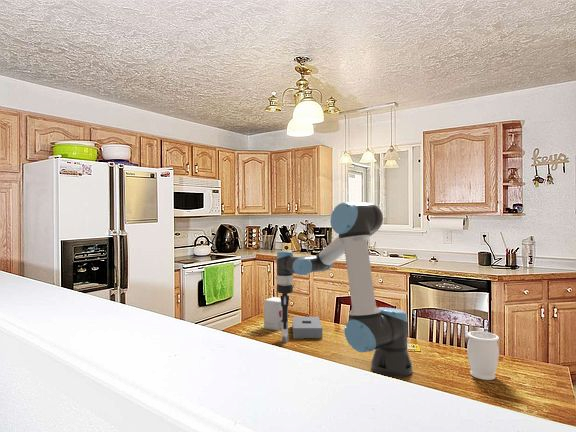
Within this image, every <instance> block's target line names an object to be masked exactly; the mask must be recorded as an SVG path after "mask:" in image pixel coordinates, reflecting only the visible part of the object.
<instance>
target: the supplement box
mask: <svg viewBox="0 0 576 432" xmlns="http://www.w3.org/2000/svg"><path fill="white" fill-rule="evenodd" d="M263 307H264V308H263V309H264V310H263V329H267V330H273V331H280V330H282V322H281V321H282V306H281V297H277V296H272V297H269V298H266V299H263Z"/></svg>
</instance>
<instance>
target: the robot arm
mask: <svg viewBox="0 0 576 432" xmlns="http://www.w3.org/2000/svg"><path fill="white" fill-rule="evenodd" d="M329 220H330V226H331V229H332V230H333V231H334V232H335V233H336V234H338V236H337V237H336V238H334V239H333V240H332V241H331V242H330V243H329V244H328V245H326V246H325V247H324V248H323V249H322V250H321V251H319V252H318V253H317V254H315V255H307V256H294V254H293V253H294V252H293V251H292V250H278V251H277V253H276V276H275V279H276V293H278V294H281V295H280V298H281V306H282V321H281V322H282V329H281V337H282V336H288V337H289V317H290V315H289V309H288V307H289V305H290V304H289V303H290V295H288V294H292V293H293V291H294V285H293V283H294V274H296V275H299V276H307V275H309V274H310V273H317V272H319V273H320V272H326V271H328V270H331V269H332V267H333V264H334V262H336V261H337V260H338V259H340V258H341V257H342V256H344V255H345V261H346V262H345V263H346V264H345V265H346V269H347V278H348V285H349V292H350V299H351V300H350V301H351V310H350V312H348V318H349V320H348V321H347V322H346V323H345V325H344V329H343V330H344V337H345V340H346V341H347V344H348V345H349V346H350V347H351V348H352V349H353V350H355V351H356V352H358V353H367V352H369V353H370V352H373V351H374V353H373V356H372V358H371V360H370V361H371V362H370V363H371V370H372V371H373V372H374V373H376V374H379V375H381V376H384V375H385V376H384V377H390V378H403V377H408V376H410V375H411V374H412V373H413V365H412V361H411V358H410V355H409V352H408V323H409V322H408V314H407V312H406V311H404V310H402V309H398V308H392V307H387V306H386V307H383V306H382V307H378V306H377V304H376V295H375V288H374V283H373V282H374V281H373V273H372V267H371V261H370V254H369V246H368V240H369V238H370V237H372V236H373V235H374V234H375V233H376V232H377V231H379V229H380V228H381V226H382V224H383V220H384V215H383V212H382V210H381V208H380V207H379V206H377V205H376V204H374V203H371V202H358V201H357V202H355V201H345V202H340V203H338V204H337V205H336V206H335V207H334V208H333V210H332V212H331V214H330V219H329ZM377 372H378V373H377Z"/></svg>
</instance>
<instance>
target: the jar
mask: <svg viewBox="0 0 576 432" xmlns="http://www.w3.org/2000/svg"><path fill="white" fill-rule="evenodd" d="M467 338H468V340H467V346H466V347H467V348H466V353H467V358H468V363H469V367H470V369H471V370H470V371H469V372H470V373H469V374H470V375H471V376H472V377H474V378H476V379H479V380H483V381H491V380H492V381H493V380H495V379H496V374H495V373H496V371H497V367H498V361H499V355H500V350H499V343H498V341H499V339H500V337H499V335H497V334H495V333H492V332H489V331H482V330H470V331H468V332H467Z"/></svg>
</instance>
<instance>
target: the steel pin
mask: <svg viewBox="0 0 576 432" xmlns="http://www.w3.org/2000/svg"><path fill="white" fill-rule="evenodd" d="M288 342H289V335H288V336H282V335H281V343H288Z"/></svg>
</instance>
